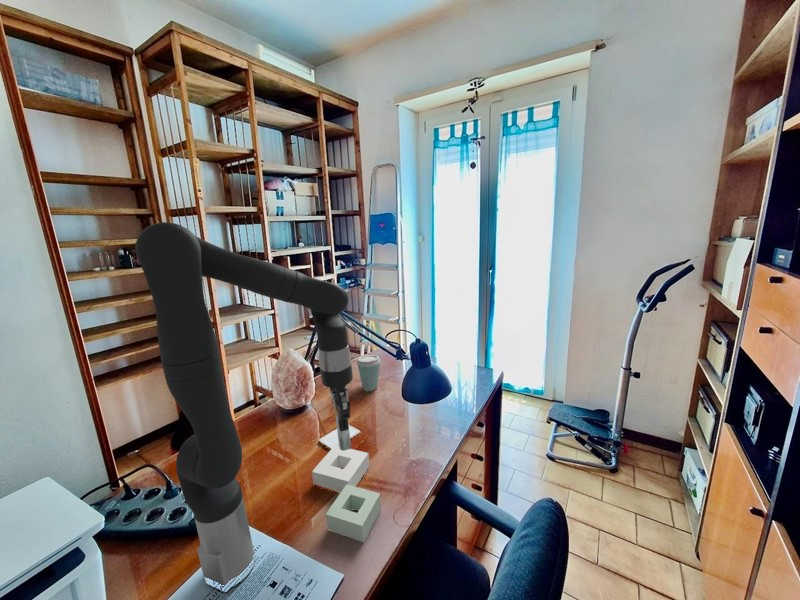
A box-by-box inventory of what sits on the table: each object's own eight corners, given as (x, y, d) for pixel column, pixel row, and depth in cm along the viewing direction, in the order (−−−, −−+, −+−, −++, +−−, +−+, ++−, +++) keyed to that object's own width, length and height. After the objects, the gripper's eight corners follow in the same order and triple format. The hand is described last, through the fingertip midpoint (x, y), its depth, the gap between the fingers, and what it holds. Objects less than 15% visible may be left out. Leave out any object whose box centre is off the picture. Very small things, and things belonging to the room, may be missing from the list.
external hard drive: (318, 443, 117) (346, 426, 126) (332, 453, 112) (360, 434, 121) (317, 439, 117) (345, 422, 126) (332, 449, 112) (360, 430, 120)
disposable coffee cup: (355, 386, 155) (352, 356, 151) (376, 380, 160) (374, 350, 156) (364, 396, 146) (361, 364, 142) (386, 389, 150) (384, 358, 147)
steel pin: (347, 451, 86) (342, 413, 83) (336, 449, 87) (332, 411, 84) (353, 444, 88) (349, 406, 86) (343, 441, 90) (338, 404, 87)
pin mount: (363, 543, 80) (362, 525, 79) (327, 530, 83) (325, 514, 82) (381, 509, 89) (380, 493, 88) (348, 499, 92) (346, 484, 91)
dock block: (350, 496, 93) (348, 481, 92) (313, 486, 98) (311, 471, 97) (369, 467, 104) (368, 453, 103) (336, 458, 109) (334, 445, 107)
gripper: (315, 356, 87) (323, 415, 91) (325, 379, 74) (333, 446, 79) (344, 350, 90) (350, 408, 94) (358, 371, 77) (364, 437, 81)
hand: (342, 425), depth 86 cm, fingers closed on steel pin, 3 cm apart
